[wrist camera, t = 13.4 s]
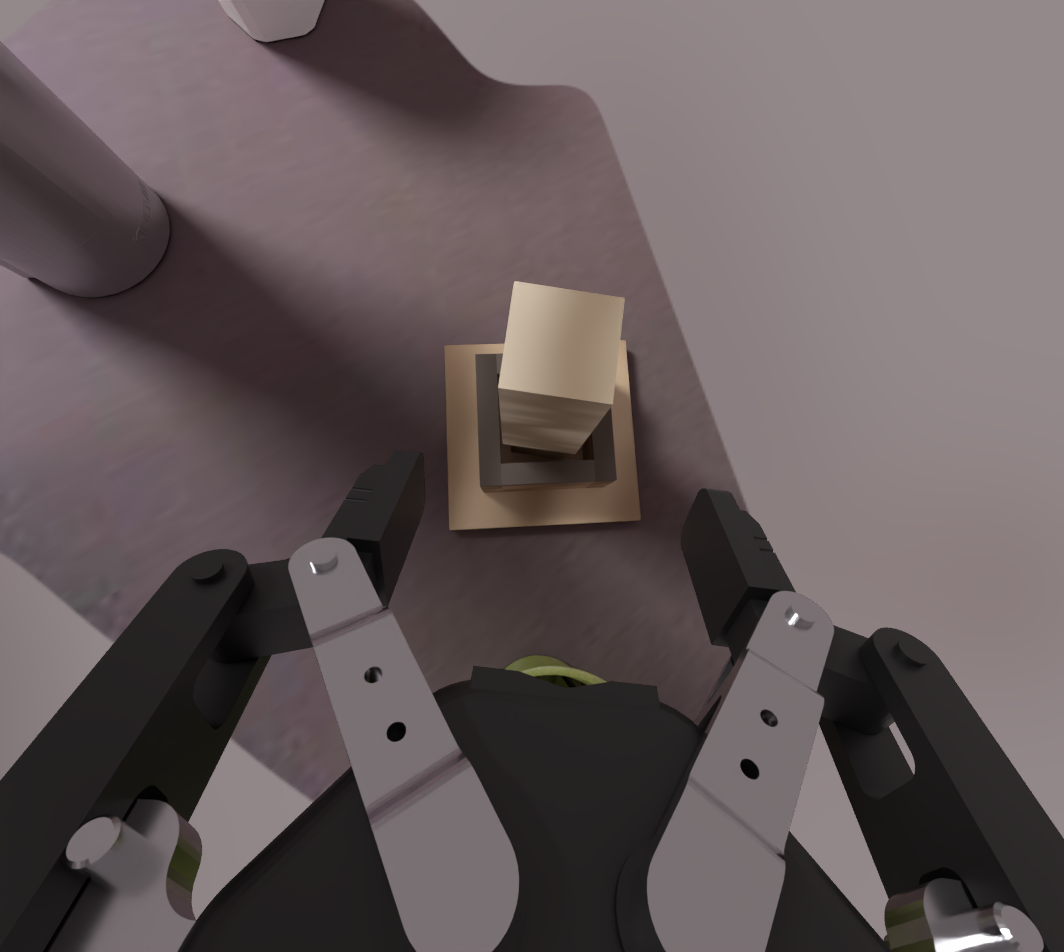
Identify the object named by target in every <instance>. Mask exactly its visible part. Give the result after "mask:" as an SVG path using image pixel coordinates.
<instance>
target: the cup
mask: <svg viewBox="0 0 1064 952" xmlns="http://www.w3.org/2000/svg"><path fill="white" fill-rule="evenodd" d="M218 1H219V3H220V4H221V6H222V7H223V9H224V10H225V12H226V13H227V15H228V16H229V17H230V18H231V19H232V20H233V21H235V22H236V23H237V24H238V25H239V26H240V27H241V28H242V29H243V30H244V31H245V32H247V33H248V34H249V35H250V36H251V37H252V38H253V39H255V40H259V41H263V42H270V41H275V40H281V39H286V38H291V37H297V36H302V35H305V34H307V33H308V32H309V31H311V30H312V29H313V28H314V27H315V24H316V22H317V19H318V17H319V14H320V11H321V9H322V6H323V3H324V1H325V0H218Z"/></svg>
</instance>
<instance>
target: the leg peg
mask: <svg viewBox="0 0 1064 952" xmlns="http://www.w3.org/2000/svg"><path fill="white" fill-rule="evenodd" d="M624 300H625V298H621V297H615V296H608V295H602V294H595V293H589V292H582V291H576V290H569V289H563V288H556V287H550V286H543V285H536V284H530V283H523V282H517V281H514V286H513V293H512V299H511V306H510V312H509V319H508V325H507V332H506V339H505V345H504V352H503V358H502V365H501V371H500V378H499V384H498V394H499V406H500V417H501V429H502V440H503V444H507V445H511V452H514V453H521V454H528V455H535V456H542V457H549V458H556V459H561V458H562V457H563V455H564V453H570V454H576V453H577V451H578V450H579V449H580V447H581V446H582V445H583V443H584V442H585V441H586V439H587V438H588V437H589V435H590V434H591V433H592V431H593V430H594V429H595V427H596V426H597V425H598V423H599V422H600V421H601V419H602V418H603V417H604V416H605V414H606V413H607V412H608V410H609V409H610V408H611V406H612V405H613V398H614V389H615V380H616V371H617V362H618V353H619V345H620V336H621V327H622V318H623V309H624Z"/></svg>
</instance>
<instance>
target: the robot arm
mask: <svg viewBox="0 0 1064 952" xmlns="http://www.w3.org/2000/svg"><path fill="white" fill-rule="evenodd" d="M169 234H170V229H169V218H168V215H167V212H166V208H165V206H164V205H163V203H162V201H161V200H160V198H159V197H158V195H157V194H156V193H155V192H154V191H153V190H152V189H151V188H150V187H149V186H148V185H147V184H146V183H144V182H143V181H142V180H141V179H140V178H139V177H138V176H137V175H136V174H135V173H134V172H133V171H132V170H131V169H130V168H129V167H128V166H127V165H126V164H125V163H124V162H123V161H122V160H121V159H120V158H119V157H118V156H117V155H116V154H115V153H114V152H113V151H112V150H111V149H110V148H109V147H108V146H107V145H106V144H105V143H104V142H103V141H102V140H101V139H100V138H99V137H98V136H97V135H96V134H95V133H94V132H93V131H92V130H91V129H90V128H89V127H88V126H87V125H86V124H85V123H84V122H83V121H82V120H81V119H80V118H78V117H77V116H76V115H75V114H74V113H73V112H72V111H71V110H70V109H69V108H68V107H67V106H66V105H65V104H64V103H63V102H62V101H61V100H60V99H59V98H58V97H57V96H56V95H55V94H54V93H53V92H52V91H51V90H50V89H49V88H48V87H47V86H46V85H45V84H44V83H43V82H42V81H41V80H40V79H38V78H37V77H36V76H35V75H34V74H33V73H32V72H31V71H30V70H29V69H28V68H27V67H26V66H25V65H24V64H23V63H22V62H21V61H20V60H19V59H18V58H17V57H16V56H15V55H14V54H13V53H12V52H11V51H10V50H9V49H8V48H7V47H6V46H5V45H4V44H3V43H2V42H1V41H0V265H2V266H4V267H6V268H7V269H9V270H11V271H13V272H15V273H17V274H19V275H20V276H22V277H25V278H33V277H34V278H37V279H38V280H40V281H42V282H44V283H46V284H47V285H49V286H51V287H53V288H55V289H57V290H59V291H62V292H64V293H67V294H69V295H75V296H80V297H102V296H107V295H112V294H116V293H118V292H121V291H123V290H126V289H128V288H130V287H132V286H134V285H135V284H137V283H138V282H140V281H142V280H143V279H144V278H145V277H146V276H147V275H148V274H149V273H150V272H152V271H153V270H154V268H155V267H156V265H157V264H158V263H159V261H160V260H161V258H162V256H163V254H164V252H165V250H166V247H167V244H168V239H169ZM424 503H425V478H424V457H423V453H421V452H413V451H405V450H397V449H396V450H394V452H393V454H392V455H391V457H390V459H389V461H388V463H387V464H386V466H383V465H375V464H374V465H373V466H372V467H370V468H369V469H367V470H366V471H365V472H363V473H362V474H360V476H359V477H358V479H357V481H356V482H355V484H354V486H353V488H352V490H350V492H349V494H348V495H347V497H346V500H344V502H343V504H342V505H341V507H340V508H339V510H338V512H337V513H336V515H335V517H334V518H333V520H332V521H331V523H330V525H329V526H328V528H327V530H326V531H325V533H324V535H323V536H322V538H321V539H317V540H314V541H311V542H309V543H307V544H305V545H303V546H302V547H300V548H299V549H298V550H297V551H296V552H295V553H294V554H293V555H292V557H291V558H290V559H286V560H280V561H273V562H265V563H257V564H250V565H248V563H247V561H246V559H245V557H244V556H243V555H242V554H241V553H239V552H237V551H234V550H228V549H218V550H211V551H207V552H204V553H200V554H198V555H196V556H193V557H191V558H190V559H188V560H186V561H185V562H183V563H182V564H181V565H179V566H178V567H177V568H176V569H175V570H174V571H173V572H172V574H171V575H170V576H169V577H168V578H167V580H166V581H165V582H164V583H163V584H162V586H161V587H160V588H159V589H158V591H157V592H156V593H155V594H154V595H153V597H152V598H151V599H150V600H149V601H148V603H147V604H146V605H145V606H144V607H143V609H142V610H141V611H140V612H139V614H138V615H137V616H136V617H135V618H134V620H133V621H132V622H131V623H130V624H129V626H128V627H127V628H126V629H125V630H124V632H123V633H122V634H121V635H120V636H119V638H118V639H117V640H116V641H115V643H114V644H113V645H112V646H111V647H110V649H109V650H108V651H107V652H106V653H105V655H104V656H103V657H102V658H101V660H100V661H99V662H98V663H97V664H96V666H95V667H94V668H93V669H92V670H91V672H90V673H89V674H88V675H87V677H86V678H85V679H84V680H83V681H82V682H81V684H80V685H79V686H78V687H77V689H76V690H75V691H74V692H73V693H72V695H71V696H70V697H69V698H68V699H67V701H66V702H65V703H64V704H63V706H62V707H61V708H60V709H59V710H58V711H57V713H56V714H55V715H54V716H53V718H52V719H51V720H50V721H49V722H48V724H47V725H46V726H45V727H44V728H43V730H42V731H41V732H40V733H39V734H38V736H37V737H36V738H35V740H34V741H33V742H32V743H31V745H29V747H28V748H27V749H26V750H25V751H24V753H23V754H22V755H21V756H20V757H19V759H18V760H17V761H16V762H15V764H14V765H13V766H12V767H11V768H10V770H9V771H8V772H7V773H6V774H5V776H4V777H3V778H2V779H1V780H0V952H1064V839H1063V837H1062V836H1061V834H1060V833H1059V832H1058V830H1057V828H1056V827H1055V826H1054V824H1053V823H1052V821H1051V820H1050V818H1049V817H1048V815H1047V814H1046V813H1045V811H1044V810H1043V808H1042V807H1041V805H1040V804H1039V802H1038V801H1037V800H1036V798H1035V797H1034V795H1033V794H1032V792H1031V791H1030V789H1029V788H1028V787H1027V785H1026V783H1025V782H1024V781H1023V779H1022V778H1021V776H1020V775H1019V773H1018V772H1017V770H1016V769H1015V768H1014V766H1013V765H1012V763H1011V762H1010V760H1009V759H1008V757H1007V756H1006V755H1005V753H1004V752H1003V750H1002V749H1001V747H1000V746H999V744H998V743H997V742H996V740H995V739H994V737H993V736H992V734H991V733H990V731H989V730H988V728H987V727H986V726H985V724H984V723H983V721H982V720H981V718H980V717H979V715H978V714H977V712H976V711H975V709H974V708H973V707H972V705H971V704H970V703H969V701H968V699H967V698H966V696H965V695H964V694H963V692H962V691H961V689H960V688H959V686H958V685H957V683H956V682H955V680H954V679H953V677H952V676H951V675H950V673H949V672H948V670H947V669H946V667H945V666H944V664H943V663H942V662H941V660H940V659H939V658H938V656H937V655H936V654H935V653H934V652H933V651H932V650H931V649H930V648H929V647H928V646H927V645H925V644H924V643H923V642H921V641H920V640H918V639H917V638H915V637H913V636H912V635H910V634H908V633H906V632H903V631H901V630H897V629H893V628H880V629H878V630H877V631H875V632H874V633H873V634H872V635H871V636H870V637H869V638H866V637H864V636H861V635H858V634H855V633H853V632H850V631H847V630H845V629H842V628H839V627H836V626H834V625H833V623H832V621H831V619H830V617H829V616H828V614H827V613H826V612H825V611H824V610H823V609H822V608H821V607H820V606H819V605H818V604H816V603H815V602H814V601H812V600H811V599H809V598H807V597H805V596H803V595H801V594H798V593H796V591H795V590H794V588H793V586H792V584H791V582H790V580H789V578H788V577H787V575H786V573H785V571H784V569H783V567H782V565H781V564H780V562H779V560H778V558H777V556H776V554H775V553H773V549H772V547H771V545H770V543H769V541H767V537H766V535H765V534H764V532H763V530H762V528H761V526H760V524H759V523H758V522H757V521H756V520H755V519H754V518H752V517H751V516H750V515H749V514H748V513H747V512H746V511H741V510H740V509H739V507H738V505H737V503H736V501H735V499H734V497H733V495H732V494H731V493H730V492H728V491H720V490H712V489H704V488H703V489H701V490H700V491H699V492H698V494H697V496H696V499H695V501H694V503H693V505H692V508H691V510H690V512H689V514H688V517H687V519H686V521H685V524H684V526H683V529H682V533H681V546H682V550H683V554H684V557H685V560H686V563H687V566H688V570H689V573H690V576H691V579H692V583H693V586H694V589H695V592H696V596H697V599H698V602H699V605H700V609H701V612H702V615H703V618H704V622H705V625H706V628H707V631H708V635H709V638H710V641H711V644H712V645H717V646H726V647H729V649H730V652H731V656H730V657H729V659H728V660H727V662H726V664H725V665H724V667H723V669H722V671H721V673H720V675H719V677H718V679H717V681H716V683H715V685H714V687H713V689H712V691H711V692H710V694H709V696H708V698H707V700H706V702H705V704H704V706H703V708H702V710H701V712H700V713H699V715H698V717H697V719H696V720H695V722H692V721H691V720H690V719H689V718H687V717H686V716H685V715H683V714H682V713H680V712H679V711H677V710H675V709H674V708H672V707H670V706H668V705H666V704H664V703H661V702H659V698H658V692H657V687H656V686H650V685H641V684H632V683H623V682H614V681H610V682H604V683H598V684H591V685H585V686H578V687H572V688H564V687H560V686H558V685H555V684H552V683H550V682H547V681H544V680H542V679H539V678H536V677H534V676H531V675H528V674H526V673H523V672H520V671H514V670H505V669H496V668H487V667H478V666H473V672H472V678H471V680H467V681H462V682H458V683H455V684H451V685H449V686H446V687H444V688H441V689H439V690H437V691H436V692H434V693H432V692H431V690H430V688H429V686H428V684H427V682H426V680H425V678H424V676H423V674H422V672H421V670H420V668H419V666H418V664H417V662H416V660H415V658H414V656H413V654H412V652H411V650H410V648H409V646H408V644H407V642H406V640H405V638H404V636H403V633H402V631H401V629H400V627H399V625H398V623H397V621H396V619H395V617H394V615H393V613H392V612H391V610H390V609H389V608H388V604H389V602H390V599H391V596H392V594H393V591H394V588H395V586H396V583H397V580H398V578H399V575H400V572H401V570H402V567H403V564H404V562H405V559H406V556H407V554H408V551H409V548H410V546H411V543H412V540H413V538H414V535H415V532H416V530H417V527H418V525H419V522H420V519H421V516H422V513H423V509H424ZM383 606H385V607H386V608H384V607H383ZM311 647H313V648H314V652H315V655H316V658H317V661H318V664H319V667H320V670H321V673H322V677H323V680H324V683H325V686H326V689H327V692H328V695H329V698H330V701H331V705H332V708H333V711H334V714H335V717H336V720H337V723H338V727H339V730H340V733H341V736H342V739H343V742H344V745H345V748H346V752H347V755H348V758H349V761H350V764H351V767H350V768H349V769H348V770H347V771H346V772H345V773H344V774H343V775H342V776H341V777H339V778H338V779H337V780H336V781H335V782H334V783H333V784H332V785H331V786H330V787H329V788H328V789H327V790H326V791H325V792H324V793H323V794H322V795H320V796H319V797H318V798H317V799H316V800H315V801H314V802H313V803H312V804H311V805H310V806H309V807H308V808H307V809H306V810H305V811H304V812H303V813H301V814H300V815H299V816H298V817H297V818H296V819H295V820H294V821H293V822H292V823H291V824H290V825H289V826H288V827H287V828H286V829H285V830H284V831H283V832H281V833H280V834H279V835H278V836H277V837H276V838H275V839H274V840H273V841H272V842H271V843H270V844H269V845H268V846H267V847H266V848H264V850H262V851H261V852H260V853H259V854H258V855H257V856H256V857H255V858H254V859H253V860H252V861H251V862H250V863H249V864H248V865H247V866H245V867H244V868H243V869H242V870H241V871H240V872H239V873H238V874H237V875H236V876H235V877H234V878H233V879H232V880H231V881H230V882H229V883H228V884H227V885H226V886H225V887H224V888H223V889H222V890H221V891H220V892H219V893H218V894H217V895H216V896H215V897H214V899H213V900H212V901H211V902H210V903H209V905H208V906H207V907H206V909H205V910H204V911H203V912H202V914H201V915H200V916H199V918H198V919H197V920H196V919H195V917H194V914H193V911H192V903H191V901H192V900H191V899H192V889H193V884H194V881H195V878H196V874H197V872H198V869H199V866H200V861H201V856H202V844H201V839H200V836H199V834H198V832H197V831H196V830H195V828H193V827H192V826H191V825H190V824H189V823H188V822H189V819H190V817H191V816H192V813H193V812H194V809H195V807H196V805H197V804H198V802H199V799H200V798H201V796H202V793H203V791H204V789H205V787H206V785H207V783H208V781H209V779H210V777H211V775H212V773H213V771H214V769H215V767H216V765H217V763H218V761H219V759H220V757H221V755H222V753H223V751H224V749H225V747H226V745H227V743H228V741H229V739H230V737H231V735H232V733H233V731H234V729H235V727H236V725H237V723H238V721H239V719H240V717H241V715H242V713H243V711H244V709H245V707H246V705H247V703H248V701H249V699H250V697H251V695H252V693H253V691H254V689H255V687H256V685H257V683H258V681H259V679H260V677H261V675H262V673H263V671H264V669H265V667H266V665H267V663H268V661H269V659H270V657H271V655H273V654H278V653H284V652H289V651H295V650H300V649H305V648H311ZM893 722H895V723H896V725H897V727H898V728H899V730H900V732H901V734H902V736H903V738H904V740H905V742H906V743H907V745H908V747H909V749H910V751H911V753H912V755H913V758H914V761H915V774H914V775H913V773H912V771H911V769H910V767H909V765H908V763H907V761H906V759H905V757H904V755H903V753H902V751H901V750H900V748H899V746H898V744H897V742H896V740H895V738H894V736H893V734H892V732H891V730H890V728H889V726H890V725H891V724H892V723H893ZM818 724H819V725H820V727H821V730H822V733H823V735H824V737H825V740H826V742H827V745H828V747H829V750H830V753H831V755H832V757H833V760H834V762H835V765H836V767H837V770H838V772H839V775H840V777H841V780H842V783H843V785H844V788H845V790H846V793H847V795H848V798H849V800H850V803H851V805H852V808H853V810H854V813H855V815H856V818H857V820H858V823H859V825H860V828H861V830H862V833H863V835H864V838H865V840H866V843H867V846H868V848H869V850H870V853H871V855H872V858H873V861H874V863H875V866H876V868H877V871H878V873H879V876H880V878H881V881H882V883H883V885H884V888H885V891H886V893H887V895H888V898H889V900H888V902H887V905H886V908H885V926H886V931H887V935H886V936H885V938H884V941H883V940H882V939H881V938H880V936H879V935H878V934H877V933H876V932H875V930H874V929H873V928H872V927H871V926H870V925H869V923H868V922H867V921H866V920H865V919H864V918H863V916H862V915H861V914H860V913H859V912H858V911H857V910H856V908H855V907H854V906H853V905H852V904H851V902H850V901H849V900H848V899H847V898H846V897H845V895H844V894H843V893H842V892H841V891H840V890H839V889H838V887H837V886H836V885H835V884H834V883H833V881H832V880H831V879H830V878H829V877H828V876H827V874H826V873H825V872H824V871H823V870H822V869H821V867H820V866H819V865H818V864H817V863H816V862H815V860H814V859H813V858H812V857H811V856H810V855H809V853H808V852H807V851H806V850H805V849H804V848H803V846H802V845H801V844H800V843H799V842H798V841H797V840H796V838H795V837H794V836H793V835H792V834H791V832H790V831H789V829H790V825H791V821H792V818H793V814H794V811H795V807H796V803H797V800H798V796H799V792H800V789H801V785H802V782H803V778H804V775H805V771H806V767H807V764H808V760H809V756H810V753H811V749H812V745H813V742H814V739H815V735H816V731H817V727H818Z"/></svg>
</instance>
